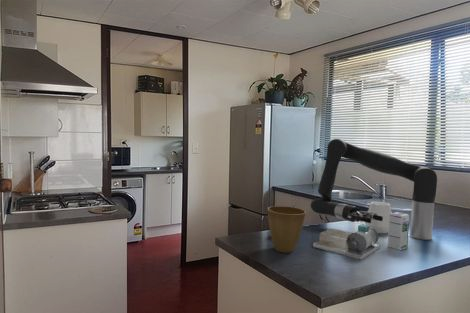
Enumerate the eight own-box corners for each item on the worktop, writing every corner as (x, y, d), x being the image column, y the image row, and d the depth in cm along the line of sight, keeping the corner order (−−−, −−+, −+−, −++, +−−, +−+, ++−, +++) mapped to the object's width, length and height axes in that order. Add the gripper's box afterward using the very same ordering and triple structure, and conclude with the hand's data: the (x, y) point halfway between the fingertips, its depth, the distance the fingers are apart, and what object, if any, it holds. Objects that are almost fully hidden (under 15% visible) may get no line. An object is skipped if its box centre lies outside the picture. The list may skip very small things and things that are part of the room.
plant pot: (274, 257, 128) (276, 214, 127) (260, 244, 142) (262, 206, 141) (310, 255, 132) (313, 213, 131) (293, 243, 146) (295, 205, 145)
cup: (362, 231, 170) (364, 203, 169) (366, 226, 182) (367, 199, 181) (392, 236, 164) (394, 207, 163) (394, 230, 176) (396, 203, 175)
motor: (334, 237, 157) (335, 214, 157) (380, 248, 144) (381, 223, 144) (312, 246, 142) (314, 221, 142) (361, 259, 129) (363, 231, 128)
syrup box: (400, 250, 142) (403, 215, 142) (387, 246, 147) (389, 212, 146) (407, 248, 146) (410, 214, 145) (394, 244, 150) (396, 211, 150)
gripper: (337, 205, 164) (367, 212, 150) (356, 203, 172) (386, 210, 158) (336, 221, 164) (366, 229, 151) (355, 218, 172) (385, 226, 159)
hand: (376, 219), depth 155 cm, fingers open, 8 cm apart
